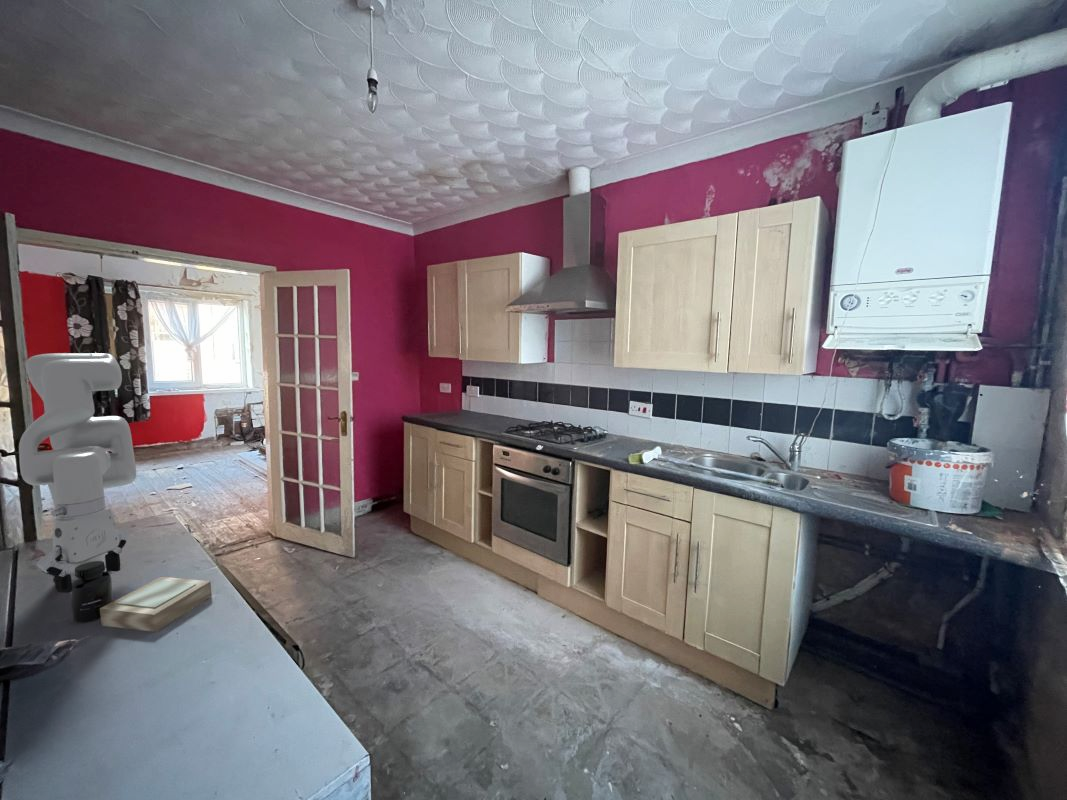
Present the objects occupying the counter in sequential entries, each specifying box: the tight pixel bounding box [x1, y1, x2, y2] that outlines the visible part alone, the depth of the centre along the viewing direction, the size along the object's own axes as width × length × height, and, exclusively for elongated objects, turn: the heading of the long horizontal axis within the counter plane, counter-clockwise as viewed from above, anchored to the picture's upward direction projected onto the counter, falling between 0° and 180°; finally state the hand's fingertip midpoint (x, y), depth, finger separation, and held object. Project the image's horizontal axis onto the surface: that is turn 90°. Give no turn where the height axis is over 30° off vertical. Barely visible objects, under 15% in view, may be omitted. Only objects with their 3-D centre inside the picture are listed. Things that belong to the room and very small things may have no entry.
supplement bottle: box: [69, 561, 114, 624], centre depth 102 cm, size 7×7×12 cm
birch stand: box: [100, 576, 213, 633], centre depth 104 cm, size 14×14×4 cm
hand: (90, 580), depth 101 cm, fingers open, 9 cm apart
